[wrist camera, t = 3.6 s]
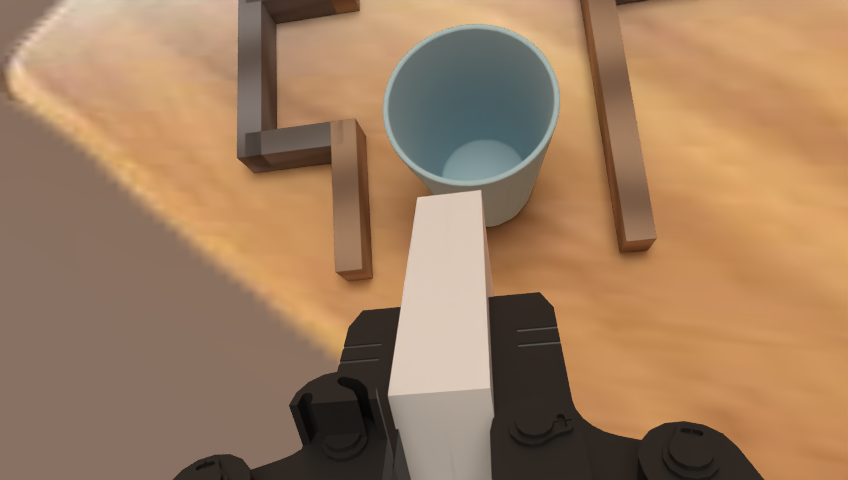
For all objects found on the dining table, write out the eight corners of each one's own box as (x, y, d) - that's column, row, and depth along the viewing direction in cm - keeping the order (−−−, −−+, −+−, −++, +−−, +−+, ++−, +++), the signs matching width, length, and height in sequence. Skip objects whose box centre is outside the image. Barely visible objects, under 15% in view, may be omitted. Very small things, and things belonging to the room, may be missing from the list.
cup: (579, 199, 36) (597, 120, 26) (465, 272, 36) (440, 219, 26) (505, 101, 39) (496, -7, 29) (398, 169, 39) (352, 85, 29)
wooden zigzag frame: (758, 238, 34) (783, 219, 31) (254, 290, 38) (227, 278, 35) (657, -225, 43) (668, -279, 40) (254, -146, 47) (233, -189, 43)
